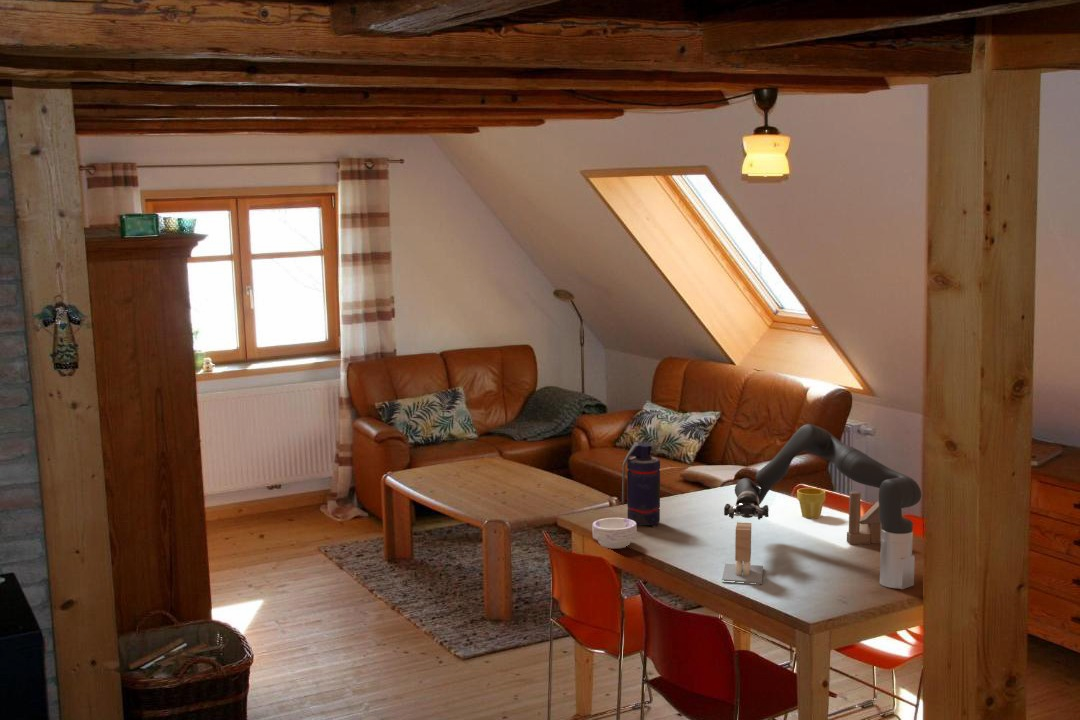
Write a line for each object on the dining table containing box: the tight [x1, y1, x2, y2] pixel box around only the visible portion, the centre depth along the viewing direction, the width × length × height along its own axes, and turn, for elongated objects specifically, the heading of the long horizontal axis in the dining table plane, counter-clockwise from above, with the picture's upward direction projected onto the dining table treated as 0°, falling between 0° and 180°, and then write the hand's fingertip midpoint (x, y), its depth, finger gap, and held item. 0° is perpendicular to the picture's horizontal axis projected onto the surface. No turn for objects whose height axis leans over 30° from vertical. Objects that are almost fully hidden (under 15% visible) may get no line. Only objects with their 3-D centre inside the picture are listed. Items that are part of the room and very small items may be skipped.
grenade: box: [621, 441, 661, 527], centre depth 423 cm, size 14×12×30 cm
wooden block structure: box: [846, 490, 881, 546], centre depth 397 cm, size 4×11×18 cm, turn 95°
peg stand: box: [721, 557, 764, 585], centre depth 365 cm, size 16×12×6 cm
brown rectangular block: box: [734, 522, 752, 562], centre depth 364 cm, size 8×4×10 cm, turn 167°
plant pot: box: [796, 487, 827, 519], centre depth 432 cm, size 10×10×10 cm
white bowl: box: [591, 517, 638, 550], centre depth 398 cm, size 15×15×8 cm
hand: (745, 516), depth 372 cm, fingers open, 8 cm apart
